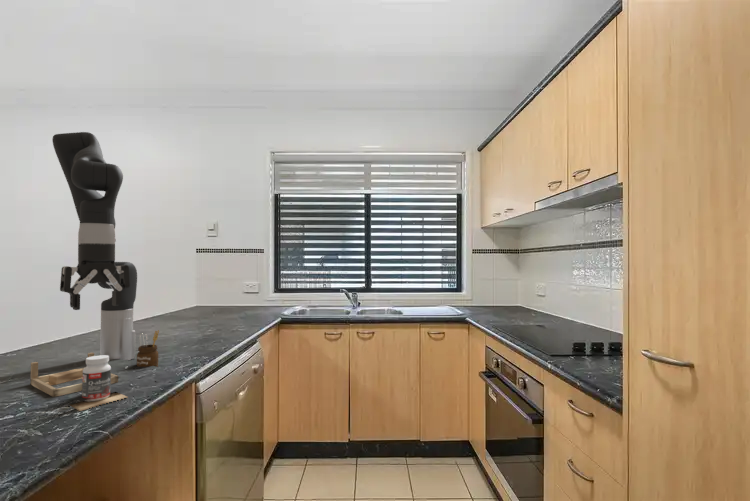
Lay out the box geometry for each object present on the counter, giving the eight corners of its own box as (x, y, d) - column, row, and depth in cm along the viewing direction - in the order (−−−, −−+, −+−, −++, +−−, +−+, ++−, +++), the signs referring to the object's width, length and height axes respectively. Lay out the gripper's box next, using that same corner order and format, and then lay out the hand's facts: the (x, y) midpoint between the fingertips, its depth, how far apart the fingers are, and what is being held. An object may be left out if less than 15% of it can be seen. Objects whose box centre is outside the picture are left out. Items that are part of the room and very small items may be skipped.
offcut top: (76, 375, 111) (76, 368, 111) (83, 376, 110) (84, 369, 110) (48, 383, 104) (48, 375, 104) (56, 384, 103) (56, 376, 103)
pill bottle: (88, 404, 92) (89, 361, 92) (77, 399, 95) (78, 358, 95) (114, 396, 97) (115, 356, 97) (103, 392, 100) (104, 353, 100)
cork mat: (109, 390, 103) (109, 389, 103) (127, 398, 97) (127, 396, 97) (62, 401, 94) (62, 400, 94) (79, 411, 89) (79, 409, 89)
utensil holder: (146, 365, 127) (147, 328, 127) (163, 366, 126) (164, 329, 126) (131, 370, 121) (132, 331, 121) (149, 371, 120) (150, 332, 120)
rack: (92, 376, 115) (92, 352, 115) (118, 387, 105) (118, 361, 106) (30, 389, 103) (30, 362, 103) (53, 402, 94) (54, 373, 94)
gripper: (120, 243, 106) (120, 303, 106) (56, 241, 94) (55, 309, 94) (134, 242, 102) (134, 305, 102) (69, 241, 90) (68, 312, 90)
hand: (96, 307), depth 98 cm, fingers open, 8 cm apart
